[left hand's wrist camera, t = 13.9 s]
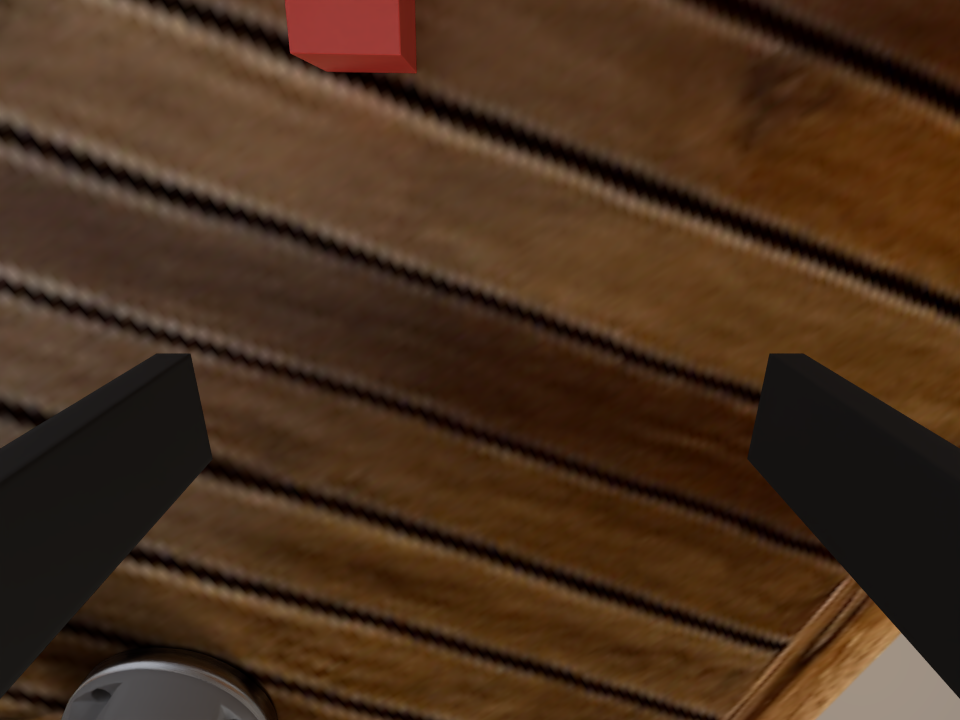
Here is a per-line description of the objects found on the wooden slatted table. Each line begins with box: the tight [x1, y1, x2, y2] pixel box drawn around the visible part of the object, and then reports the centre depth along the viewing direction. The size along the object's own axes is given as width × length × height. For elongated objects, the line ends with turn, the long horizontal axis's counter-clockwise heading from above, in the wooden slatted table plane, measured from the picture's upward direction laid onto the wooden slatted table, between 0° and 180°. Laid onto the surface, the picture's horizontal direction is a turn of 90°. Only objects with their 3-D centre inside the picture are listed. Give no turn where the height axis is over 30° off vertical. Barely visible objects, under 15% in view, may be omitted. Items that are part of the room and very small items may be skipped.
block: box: [285, 0, 417, 73], centre depth 22 cm, size 4×5×5 cm
